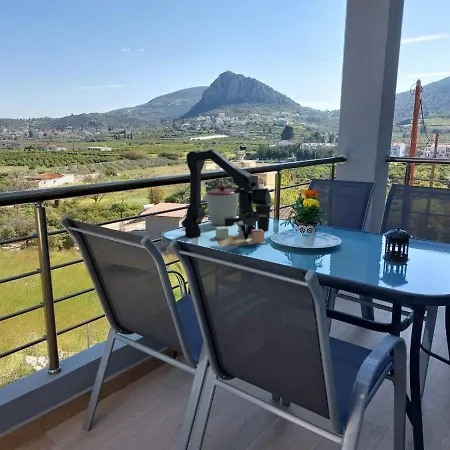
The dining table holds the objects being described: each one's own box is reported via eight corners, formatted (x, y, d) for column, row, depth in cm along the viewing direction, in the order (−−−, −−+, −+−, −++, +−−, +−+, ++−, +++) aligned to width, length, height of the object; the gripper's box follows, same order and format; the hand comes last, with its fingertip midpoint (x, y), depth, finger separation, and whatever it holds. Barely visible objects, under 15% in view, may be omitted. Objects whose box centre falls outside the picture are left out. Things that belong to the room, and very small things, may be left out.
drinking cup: (272, 234, 190) (271, 191, 185) (255, 234, 190) (255, 192, 186) (270, 230, 197) (270, 189, 193) (254, 230, 197) (254, 190, 193)
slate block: (239, 237, 181) (239, 227, 180) (238, 235, 185) (238, 225, 184) (249, 237, 181) (249, 227, 180) (248, 234, 185) (248, 225, 184)
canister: (243, 226, 207) (242, 185, 202) (207, 228, 205) (206, 187, 200) (237, 219, 225) (236, 181, 220) (204, 221, 222) (203, 183, 218)
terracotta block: (253, 242, 172) (253, 232, 171) (251, 239, 176) (251, 229, 175) (264, 241, 173) (264, 231, 172) (261, 239, 177) (261, 229, 176)
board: (219, 248, 168) (219, 246, 168) (214, 238, 185) (214, 236, 184) (266, 245, 171) (266, 243, 171) (257, 236, 187) (257, 233, 187)
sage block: (218, 239, 179) (218, 229, 178) (215, 236, 183) (215, 227, 182) (228, 238, 180) (228, 228, 179) (225, 235, 185) (225, 226, 184)
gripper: (226, 208, 161) (227, 245, 165) (272, 205, 164) (271, 243, 167) (222, 203, 172) (223, 239, 176) (265, 201, 175) (265, 236, 178)
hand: (246, 239), depth 174 cm, fingers closed
